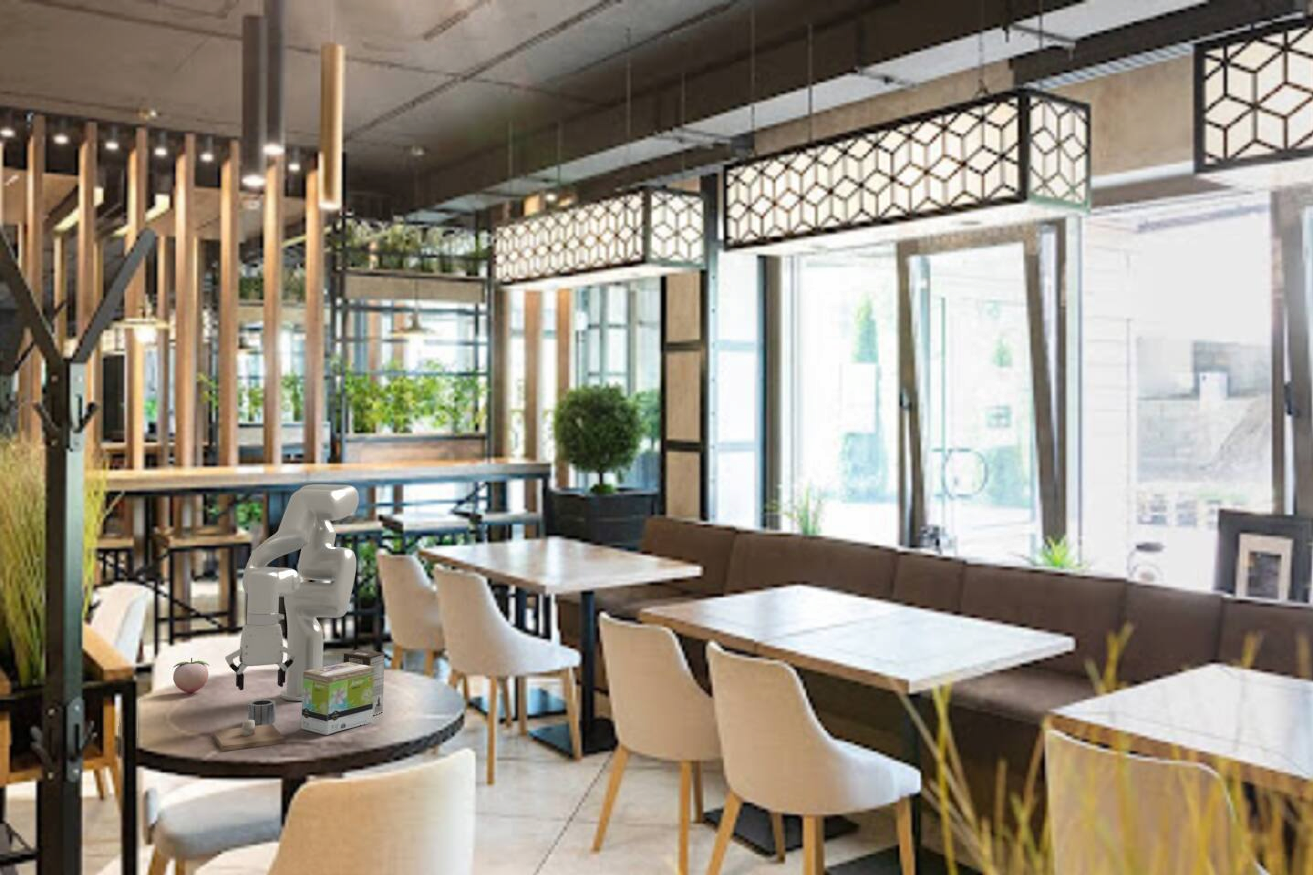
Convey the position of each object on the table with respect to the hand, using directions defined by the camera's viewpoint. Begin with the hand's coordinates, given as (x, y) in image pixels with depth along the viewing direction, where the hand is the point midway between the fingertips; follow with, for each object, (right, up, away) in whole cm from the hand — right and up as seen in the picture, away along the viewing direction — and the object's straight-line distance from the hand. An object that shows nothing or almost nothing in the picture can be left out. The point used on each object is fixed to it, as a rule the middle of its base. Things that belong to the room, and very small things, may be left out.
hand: (260, 687), depth 282 cm
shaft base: (+2, -9, -14) cm, 17 cm away
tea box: (+20, -10, -1) cm, 22 cm away
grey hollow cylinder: (0, -9, +1) cm, 9 cm away
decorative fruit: (-29, -8, +28) cm, 41 cm away
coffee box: (+23, -10, +11) cm, 27 cm away
